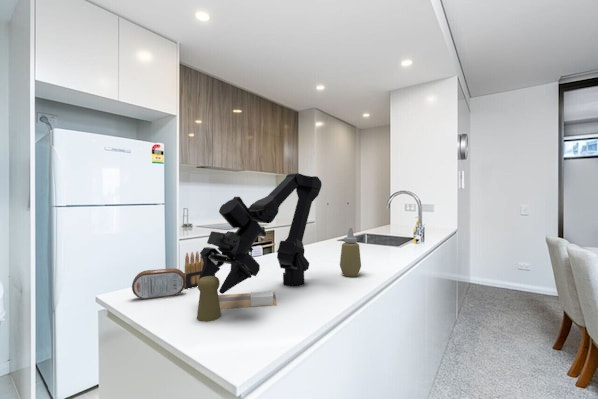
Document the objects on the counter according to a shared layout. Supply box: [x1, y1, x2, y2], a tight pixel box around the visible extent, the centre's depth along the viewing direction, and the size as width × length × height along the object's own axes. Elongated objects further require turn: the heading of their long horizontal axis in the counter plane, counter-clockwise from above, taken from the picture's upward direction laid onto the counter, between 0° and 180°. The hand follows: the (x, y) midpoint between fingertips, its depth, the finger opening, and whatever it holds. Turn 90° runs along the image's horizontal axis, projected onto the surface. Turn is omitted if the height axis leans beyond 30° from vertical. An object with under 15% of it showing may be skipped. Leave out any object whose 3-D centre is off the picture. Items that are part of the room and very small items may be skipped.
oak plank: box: [218, 291, 278, 310], centre depth 82 cm, size 20×11×1 cm, turn 98°
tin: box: [131, 267, 186, 300], centre depth 89 cm, size 15×3×8 cm, turn 110°
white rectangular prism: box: [250, 290, 274, 307], centre depth 80 cm, size 6×4×2 cm, turn 98°
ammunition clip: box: [183, 250, 216, 290], centre depth 100 cm, size 11×2×12 cm, turn 133°
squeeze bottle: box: [339, 227, 362, 278], centre depth 110 cm, size 8×8×18 cm
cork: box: [196, 275, 222, 323], centre depth 71 cm, size 6×6×11 cm
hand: (209, 289), depth 71 cm, fingers open, 9 cm apart
